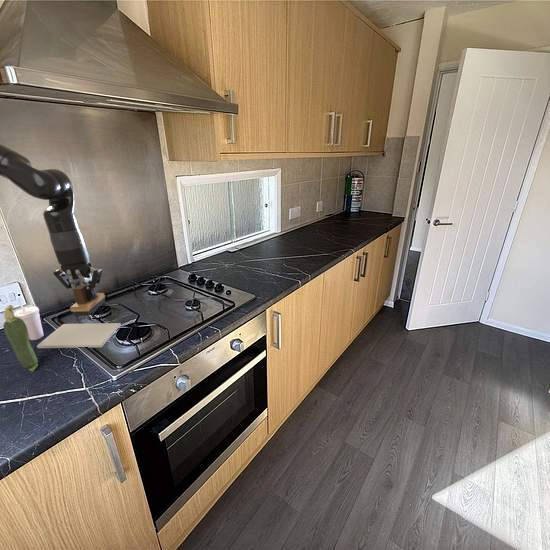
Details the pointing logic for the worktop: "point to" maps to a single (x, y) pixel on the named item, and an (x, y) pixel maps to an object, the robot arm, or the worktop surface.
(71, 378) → the worktop surface
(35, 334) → the smoothie
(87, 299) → the brush
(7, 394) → the worktop surface
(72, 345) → the tile
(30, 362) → the vegetable
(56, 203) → the robot arm
